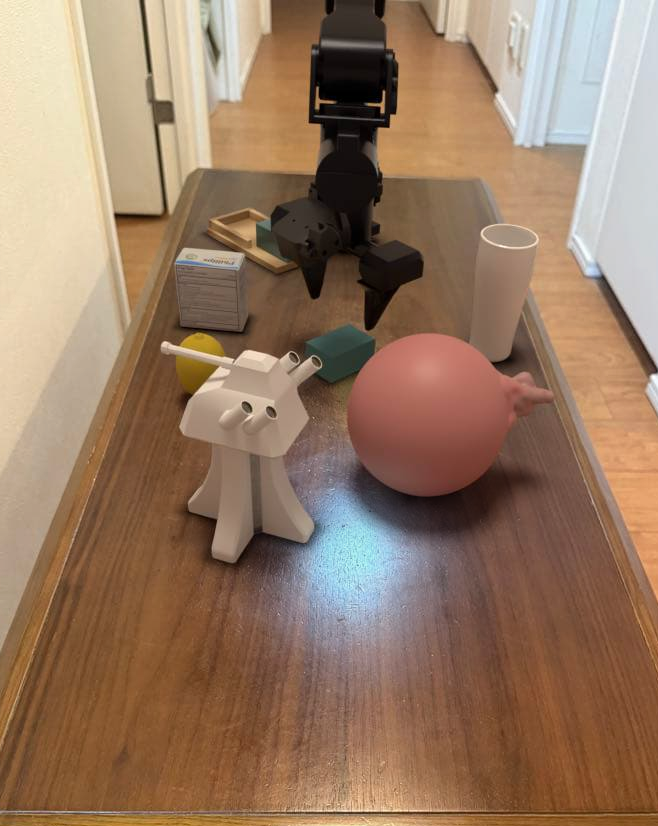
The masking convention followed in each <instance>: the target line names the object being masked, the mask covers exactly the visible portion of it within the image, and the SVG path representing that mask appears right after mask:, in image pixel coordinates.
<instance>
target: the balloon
mask: <svg viewBox="0 0 658 826" xmlns="http://www.w3.org/2000/svg"><path fill="white" fill-rule="evenodd" d="M554 401H556V395H555V393H554V392H553V391H551V390H549V389H545V388H540V387H537V385H536V384H535V381H534V378H533V376H532V374H531V373H530V372H528V371H521V372H519V373H517V374H516V375H514V376H512V377H510V376H508V375H506V374H503V373H501V372H500V371H499V370H498V369H496V367H495V366H494V365H493V364H492V362H490V361H489V360H488V359H487V358H486V357H485V356H484V355H483V354H482V353H481V352H480V351H478V350H477V349H476V348H474V347H473V346H471V345H470V344H469V342H466V341H464V340H462V339H459V338H457V337H454V336H451V335H447V334H442V333H431V332H427V333H425V332H424V333H416V334H411V335H407V336H404V337H400V338H399V339H396V340H394V341H392V342H389V343H388V344H386V345H384V346H383V347H381V348H380V349H379V350H377V352H375V354H374V355H373V356H372V357H371V358H370V359H369V360H368V361H367V363H366V364H365V365H364V366H363V368H362V369H361V370H359V371H358V373H357V376H356V378H355V379H354V382H353V383H352V386H351V390H350V393H349V397H348V401H347V408H346V422H347V423H346V425H347V430H348V435H349V439H350V442H351V445H352V447H353V451H354V452H355V454H356V455H357V457H358V460H360V462H361V464H362V465H363V466H364V467H365V469H366V471H368V472H369V473H370V474H371V475H372V476H373V477H374V478H375V479H377V480H378V481H379V482H381V484H384V485H385V486H387V487H389V488H390V489H393V490H394V491H397V492H400V493H403V494H405V495H410V496H416V497H438V496H439V497H440V496H445V495H448V494H452V493H455V492H457V491H459V490H462V489H464V488H466V487H468V486H469V485H471V484H472V483H474V482H476V481H477V480H478V479H479V478H480V477H481V476H483V475H484V474H485V473H486V472H487V471H488V470H489V468H491V466H492V465H493V463H494V462H495V461H496V459H497V457H498V456H499V454H500V452H501V450H502V449H503V446H504V443H505V440H506V437H507V434H508V433H509V432H510V431H511V430H512V429H513V428H514V426H515V425H516V424H517V421H518V418H523V417H527V416H529V415H531V414H532V413H533V412H534V409H535V405H538V404H539V405H543V404H552V403H553V402H554Z"/></svg>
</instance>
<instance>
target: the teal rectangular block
mask: <svg viewBox="0 0 658 826" xmlns="http://www.w3.org/2000/svg"><path fill="white" fill-rule="evenodd" d="M376 340H377V339H376V338H375V337H373V336H372V335H370V334H368V333H366V332H364V331H363V330H361V329H360V328H358V327H356V326H355V325H353V324H351V323H348V324H345V325H343V326H341V327H337V328H336V329H333V330H331V331H329V332H326V333H324V334H321V335H319V336H317V337H314V338H312V339H310V340H307V341H305V361H306V360H307V359H309V358H310V357H311V356H313V355H314V356H317V357H318V358H319V359H320V360H321V362H322V367H321V368H320V369H319V370H318V371H316V372H315V373H314V374H316V375H317V376H319V377H320V378H322V379H324V380H325V381H326V382H328V383H330V384H333V383H335V382H337V381H340V380H342V379H344V378H346V377H348V376H350V375H352V374H354V373H357V372H360V371H361V369H362V368H363V366H364V365H365V364H366V363H367V361H368V360H369V359H370V358H371V357H372V356H373V355H374V354H375V353H376V351H375V350H376Z"/></svg>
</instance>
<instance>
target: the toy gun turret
mask: <svg viewBox="0 0 658 826" xmlns="http://www.w3.org/2000/svg"><path fill="white" fill-rule="evenodd" d="M160 352H161V354H163V355H170V354H171V355H175V356H176V355H178V356H182V357H186V358H190V359H194V360H198V361H202V362H206V363H210V364H214V365H218V366H220V367H219V368H218V369H217V370H216V371H215V372H214V373H213V374H212V375H211V376H210V377H209V379H208V380H207V381H206V382H205V383H204V384H203V385H202V386H201V387H200V389H199V390H198V391H197V392H196V393H195V394H194V395H192V396H191V397H190V398H189V399H188V401H187V404H186V406H185V409H184V412H183V415H182V418H181V421H180V423H179V426H178V428H179V430H180V432H181V433H182V435H183V436H185V437H187V438H189V439H193V440H197V441H200V442H204V443H207V444H208V443H209V444H211V447H212V448H211V461H210V466H209V468H208V471H207V475H206V477H205V479H204V481H203V483H202V484H201V486H199V487H198V488H197V490H196V491H195V492H194V494H193V495H192V496H191V497H190V499H188V501H187V508H188V509H187V510H188V511H189V513H192V514H196V515H200V516H203V517H207V518H211V519H214V520H216V526H215V529H214V530H215V531H214V536H213V540H212V544H211V556H212V558H213V559H215V560H219V561H223V562H226V563H228V564H234V563H235V564H236V562H237V561H238V559H239V558H240V556H241V555H242V553H243V552H244V550H245V549H246V547H247V546H248V544H249V542H251V540H252V538H253V536H254V535H257V534H260V533H264V534H269V535H272V536H275V537H279V538H283V539H286V540H290V541H293V542H297V543H301V544H306V543H308V542H309V540H310V538H311V536H312V535H313V533H314V531H315V523H314V519H312V518H311V516H310V515H309V514H308V512H307V511H306V509H305V508H304V506H303V505H302V503H301V501H300V500H299V498H298V496H297V494H296V492H295V490H294V488H293V486H292V483H291V481H290V478H289V476H288V473H287V471H286V468H285V463H284V462H285V461H284V457H283V456H284V455H286V454H287V452H288V451H289V449H290V448H291V446H292V444H293V443H294V442H295V441H296V439H297V438H298V437H299V434H300V433H301V432H302V430H303V429H304V428H305V426H306V425H307V424H308V422H309V420H310V417H309V414H308V412H307V410H306V408H305V406H304V403H303V401H302V400H301V398H300V395H299V392H298V387H299V386H300V385H301V384H302V383H303V382H305V381H306V380H307V379H309V378H310V377H311V376H313V374H316V373H315V372H316V371H318V370H319V369H320V368H321V367H322V362H321V360H320V359H319V358H318V357H317V356H314V355H313V356H311V357H310V358H309V359H307V360H306V359H305V361H304V362H302V363H301V364H300V357H299V355H298V354H297V353H296V352H295V351H292V350H291V351H289V352H287V353H286V354H284V356H282V357H281V358H280V359H279V358H277V357H276V356H273V355H271V354H268V353H264V352H260V351H255V350H252V349H247V350H244V351H242V352H241V354H240V355H237V356H236V357H235V358H232V357H227V356H226V357H223V358H222V357H218V356H214V355H210V354H206V353H202V352H198V351H194V350H190V349H186V348H182V347H179V345H174V344H172V343H171V342H169V341H167V340H166V341H165V340H164V341H163V342H162V343H161V344H160ZM299 364H300V365H299ZM296 366H297V367H296ZM295 367H296V368H295ZM294 368H295V369H294ZM291 370H292V371H291ZM290 371H291V372H290ZM289 372H290V373H289ZM288 373H289V374H288Z"/></svg>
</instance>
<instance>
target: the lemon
mask: <svg viewBox="0 0 658 826" xmlns="http://www.w3.org/2000/svg"><path fill="white" fill-rule="evenodd" d="M178 347H182V348H186V349H190V350H194V351H198V352H202V353H206V354H210V355H214V356H218V357H222V358H223V357H227V356H226V353H225V350H224V348H223V346H222V344H221V343H220V342H219V341H218V340H217V339H216V338H214V337H213V336H211V335H208V334H206V333H202V332H196V333H194V334H191V335H189V336H187V337H186V338H185V339H183V340H182V341H181V343H180V344H179V345H178ZM219 367H220V366H218V365H214V364H210V363H206V362H202V361H198V360H194V359H190V358H186V357H182V356H178V355H175V371H176V375H177V376H176V377H177V379H178V382H179V383H180V385H181V386H182V388H183V389H184V390H185V391H186V392H187V393H189V394H191V395H192V396H193V395H194V394H195V393H196V392H197V391H198V390H199V389H200V387H201V386H202V385H203V384H204V383H205V382H206V381H207V380H208V379H209V377H210V376H211V375H212V374H213V373H214V372H215V371H216V370H217V369H218V368H219Z"/></svg>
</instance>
